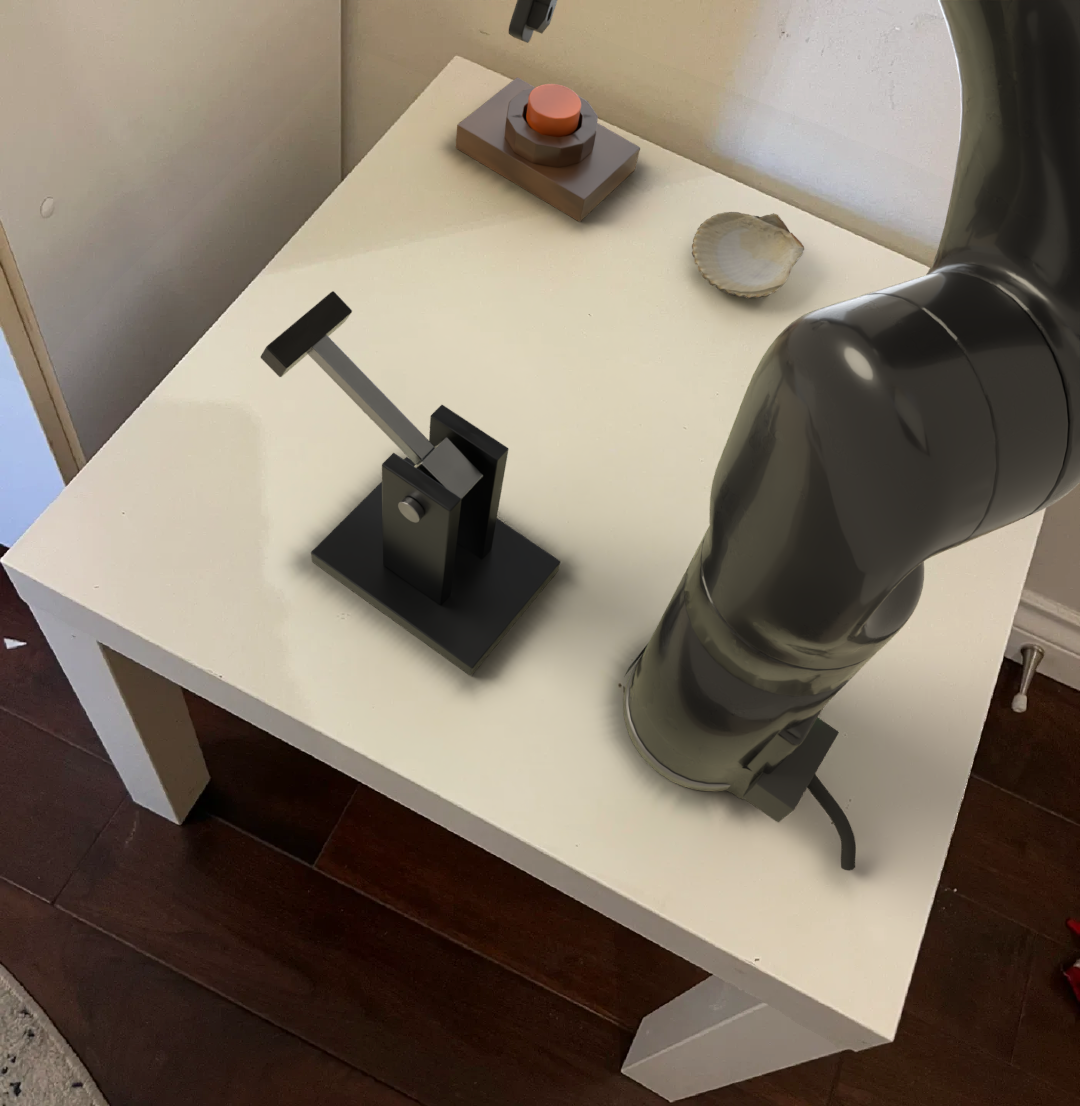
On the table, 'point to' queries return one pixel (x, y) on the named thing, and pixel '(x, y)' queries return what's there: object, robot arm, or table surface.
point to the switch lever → (367, 393)
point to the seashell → (745, 253)
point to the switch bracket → (440, 551)
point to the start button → (553, 110)
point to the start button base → (547, 152)
